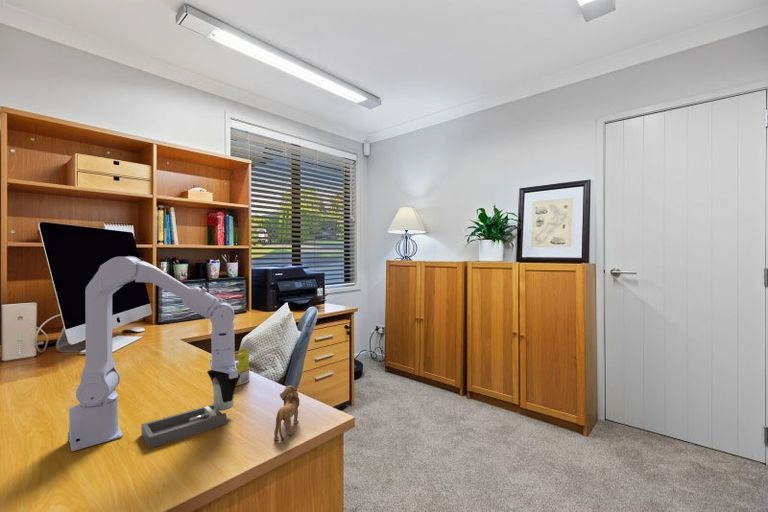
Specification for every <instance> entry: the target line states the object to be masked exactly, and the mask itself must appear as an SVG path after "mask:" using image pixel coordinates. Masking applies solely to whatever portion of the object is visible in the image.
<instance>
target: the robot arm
mask: <svg viewBox="0 0 768 512" xmlns="http://www.w3.org/2000/svg"><path fill="white" fill-rule="evenodd" d="M133 281H134V282H135V283H151V284H153V285H155V286H157V287H159V288H160V289H163V290H165V291H166V292H169V293H170V294H173V295H175V296H177V297H179V298H180V299H181V301H182V305H183V306H184V307H186V308H187V309H190V310H191V311H192V312H195V313H196V314H199V316H202V317H204V318H205V319H206V318H209V321H210V322H211V330H212V331H211V332H210V337H211V338H210V339H211V340H210V341H211V342H210V343H211V344H210V345H211V348H210V349H211V350H210V351H211V358H210V359H209V361H210V364H209V365H210V370H207V374H208V377H209V378H210V381H211V383H212V384H213V378H214V377H215V376H218V375H222V376H218V377H216V379H217V381H218V383H219V385H220V388H221V394H222V399H223V402H224V403H225V402H229V401H232V399H233V400H234V393H235V389H236V387H237V386H236V384H237V382H238V380H239V378H240V374H239V373H238V370H237V369H236V365H239V361H235V352H236V349H235V346H236V345H235V342H236V341H235V329H234V328H235V323H234V320H235V318H236V317H235V316H236V315H235V309H234V307H233V306H232V304H230V303H229V302H227V301H224V299H223V298H221V297H219V298H218V297H217V296H214V294H213V295H212V294H211V293H209V292H208V289H207V288H205V287H204V286H203V287H199V286H193V287H189V286H187V285H186V284H184V283H183V282H182V281H179V280H178V279H176V278H175V277H173V276H171V275H170V274H168V273H166V272H165V271H163V270H162V269H161V268H158V266H155V265H153V264H151V263H149V262H147V261H144V260H141V259H140V258H138V257H136V256H134V255H133V256H131V255H128V256H127V255H126V256H115V257H112V258H110V259H109V260H107V261H105V262H104V263H102V264H100V265H99V267H98V270H97V272H96V273H95V274H94V276H93V277H92V279H91V280H89V283H88V284H87V285H86V287H85V289H84V290H85V295H84V297H85V301H84V302H85V306H84V307H85V309H84V310H85V363H84V367H83V369H82V372H81V375H80V383H79V384H78V386H77V388H76V390H75V398H76V400H77V401H78V402H79V404H77V405H73V406H70V407H68V432H67V440H68V441H69V447H70V452H74V451H79V450H81V449H85V448H90V447H92V446H96V445H99V444H102V443H106V442H111V441H113V440H117V439H120V438H122V437H124V434H123V432H122V430H121V428H120V426H119V394H118V393H117V391H116V388H117V387H118V386H119V384H120V381H121V376H120V373H119V372H118V370H117V367H116V361H115V359H114V357H113V295H114V294H115V293H116V292H117V291H119V290H120V289H121V288H123V287H124V286H125V285H127V284H128V283H132V282H133ZM223 374H224V375H223Z"/></svg>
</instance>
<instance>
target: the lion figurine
mask: <svg viewBox="0 0 768 512" xmlns="http://www.w3.org/2000/svg"><path fill="white" fill-rule="evenodd" d="M279 397H280V399H281V400H282V401H283V406H282V407H280V408H279V409H278V411H277V414H276V418H275V428H274V431H273V432H274V434H273V435H274V436H273V437H274V438H273V441H278V440H279V439H280V442H281V443H284V442H285V440H284V439H285V438H284V436H283V433H282V424H283V425H284V426H285V425H286V432H287V433H288V435H289V436H292V435H294V434H295V432H294V431H293V430H292V429H291V426H292V418H293V423H294V424H299V423H300V421H299V420H298V416H299V406H300V397H299V392H298V390H297V388H296V387H295V386H293V385H285V388H284V390H283V391H282V392H280V393H279ZM293 416H294V417H293ZM282 421H283V422H282Z"/></svg>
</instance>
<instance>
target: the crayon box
mask: <svg viewBox="0 0 768 512" xmlns="http://www.w3.org/2000/svg"><path fill="white" fill-rule="evenodd" d="M235 361H239V365H236V369H237V370H238V373H239V374H240V378H239V380H238V382H237V384H236V387H239V386H240V385H243V384H246V383H249V382H250V361H249V347H247V348H243V349H240V350H235Z"/></svg>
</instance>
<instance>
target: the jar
mask: <svg viewBox="0 0 768 512" xmlns="http://www.w3.org/2000/svg"><path fill="white" fill-rule="evenodd" d="M223 375H224V374H223ZM218 376H222V375H218ZM218 376H215V377H214V378H213V383H212V387H213V388H212V389H213V404H214V410H217V411H220V412H221V411H222V412H223V411H227V410H229V409H232V408H233V407H234V398H233V399H232V401H229V402H225V403H224V402H223V399H222V394H221V388H220V385H219V383H218V381H217V379H216V377H218Z"/></svg>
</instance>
